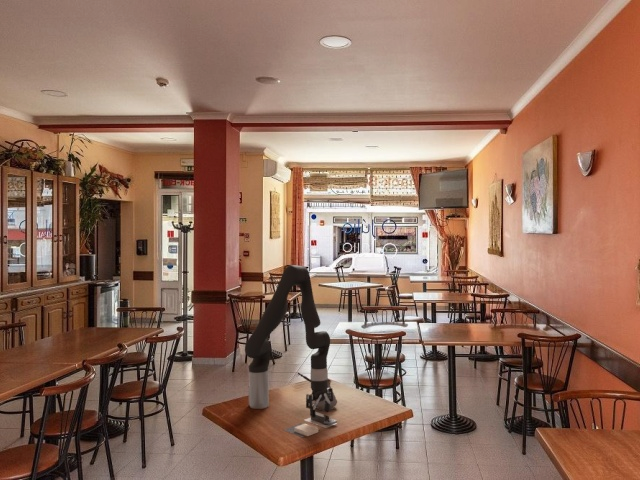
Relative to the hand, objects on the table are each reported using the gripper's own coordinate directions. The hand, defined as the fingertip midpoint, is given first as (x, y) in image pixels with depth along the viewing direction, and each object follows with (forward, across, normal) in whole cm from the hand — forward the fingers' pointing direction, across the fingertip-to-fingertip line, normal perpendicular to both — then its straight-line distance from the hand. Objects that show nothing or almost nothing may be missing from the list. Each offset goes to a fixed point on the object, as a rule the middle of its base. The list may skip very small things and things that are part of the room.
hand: (320, 414), depth 225 cm
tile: (+2, +12, 0) cm, 12 cm away
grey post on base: (+3, 0, +1) cm, 3 cm away
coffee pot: (+4, -14, -17) cm, 22 cm away
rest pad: (+4, 0, 0) cm, 4 cm away
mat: (+4, +12, +1) cm, 13 cm away
